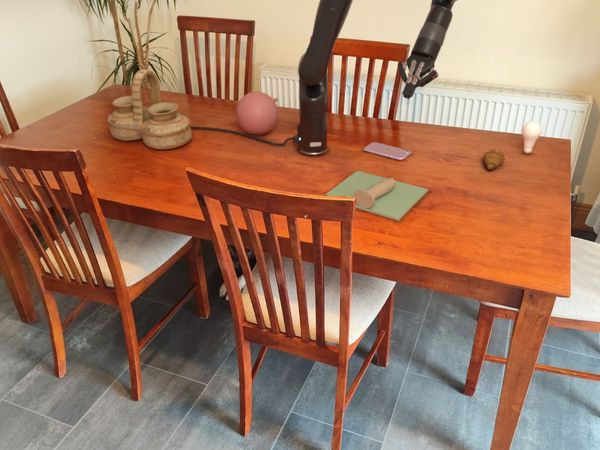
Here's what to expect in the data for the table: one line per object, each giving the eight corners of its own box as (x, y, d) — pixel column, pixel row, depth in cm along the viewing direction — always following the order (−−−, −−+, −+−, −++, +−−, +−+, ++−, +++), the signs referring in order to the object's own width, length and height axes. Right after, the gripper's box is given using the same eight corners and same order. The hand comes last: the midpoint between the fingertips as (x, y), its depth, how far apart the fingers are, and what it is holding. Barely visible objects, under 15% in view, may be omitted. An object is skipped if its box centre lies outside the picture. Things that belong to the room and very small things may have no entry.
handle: (383, 172, 163) (354, 188, 153) (402, 177, 159) (373, 194, 149) (382, 186, 165) (353, 203, 155) (400, 192, 162) (372, 210, 151)
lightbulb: (536, 150, 186) (543, 119, 180) (536, 157, 181) (543, 126, 175) (517, 148, 187) (523, 117, 182) (517, 155, 182) (523, 124, 177)
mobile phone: (373, 140, 193) (412, 150, 185) (373, 143, 193) (412, 153, 185) (362, 148, 187) (401, 158, 180) (362, 150, 188) (401, 161, 180)
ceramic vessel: (98, 139, 202) (83, 71, 189) (134, 122, 216) (122, 58, 203) (169, 156, 187) (158, 84, 174) (203, 137, 201) (195, 69, 188)
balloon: (295, 127, 208) (294, 87, 200) (260, 144, 194) (257, 102, 186) (264, 119, 216) (262, 80, 208) (229, 135, 203) (225, 94, 195)
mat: (323, 198, 160) (323, 195, 160) (357, 172, 174) (357, 170, 174) (398, 221, 148) (398, 218, 148) (428, 191, 162) (428, 189, 162)
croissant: (500, 173, 171) (503, 159, 169) (478, 170, 174) (480, 155, 171) (506, 157, 182) (509, 143, 179) (485, 153, 184) (488, 140, 181)
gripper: (405, 32, 160) (382, 87, 161) (447, 40, 154) (423, 98, 154) (412, 43, 167) (390, 96, 167) (453, 52, 160) (430, 107, 161)
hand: (406, 97), depth 161 cm, fingers closed
